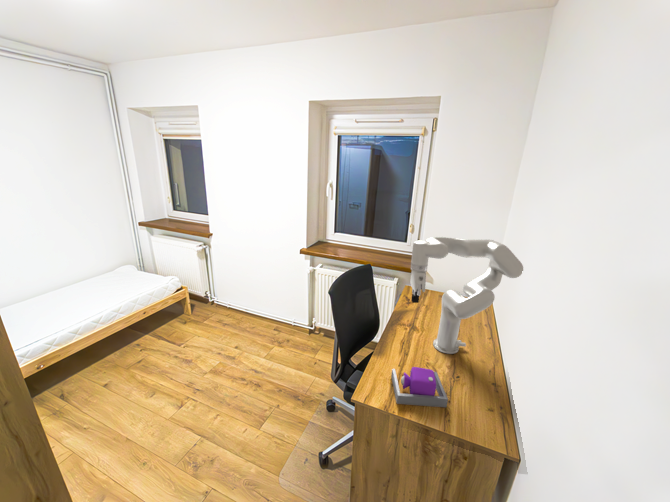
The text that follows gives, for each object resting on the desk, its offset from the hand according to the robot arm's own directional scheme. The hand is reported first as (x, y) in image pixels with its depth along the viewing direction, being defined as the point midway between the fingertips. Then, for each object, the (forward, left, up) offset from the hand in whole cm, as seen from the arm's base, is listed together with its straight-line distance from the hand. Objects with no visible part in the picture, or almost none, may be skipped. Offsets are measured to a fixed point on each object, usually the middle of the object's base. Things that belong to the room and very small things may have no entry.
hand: (414, 301), depth 139 cm
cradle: (+2, +29, -26) cm, 39 cm away
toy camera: (+2, +30, -27) cm, 40 cm away
